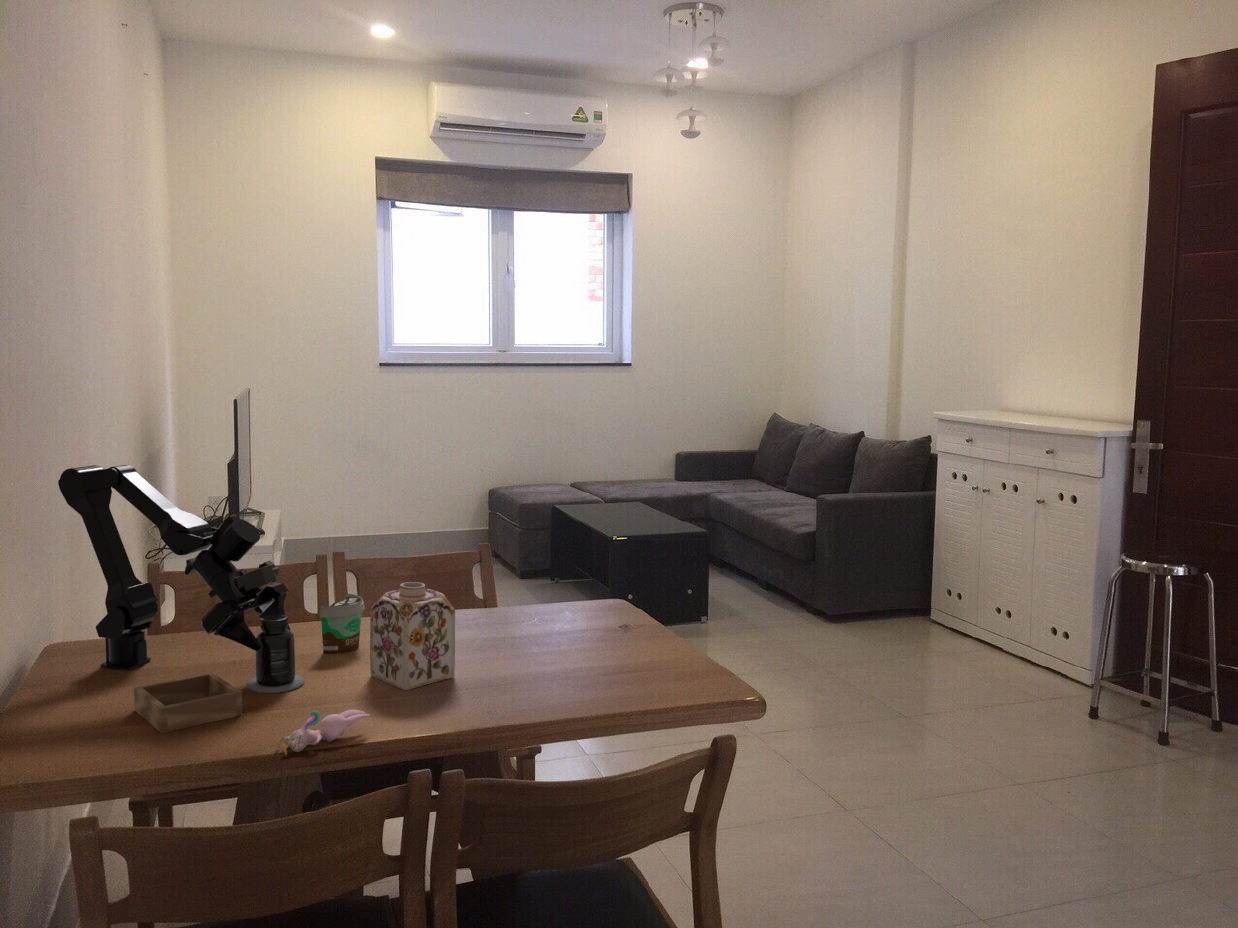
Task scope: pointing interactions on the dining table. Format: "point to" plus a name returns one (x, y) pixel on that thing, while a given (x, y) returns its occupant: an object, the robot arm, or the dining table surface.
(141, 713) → the walnut box
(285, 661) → the supplement bottle
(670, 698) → the dining table surface
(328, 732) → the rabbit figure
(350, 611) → the food container
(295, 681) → the coaster
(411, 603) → the decorative jar
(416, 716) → the dining table surface
